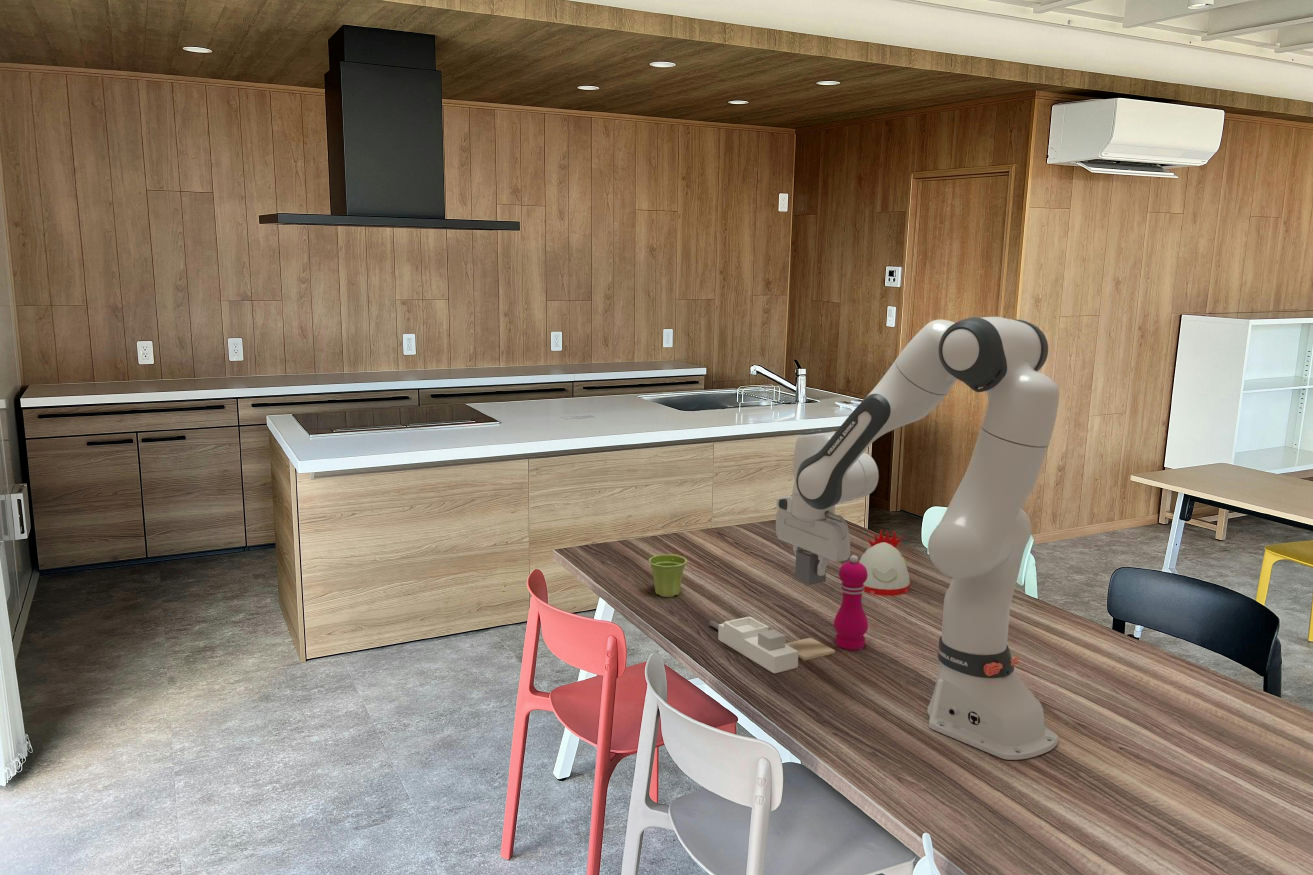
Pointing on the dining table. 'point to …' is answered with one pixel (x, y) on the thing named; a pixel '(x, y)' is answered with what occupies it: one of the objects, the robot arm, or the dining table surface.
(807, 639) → the coaster
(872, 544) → the kitchen timer
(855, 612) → the pepper mill
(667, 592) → the plant pot
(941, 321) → the robot arm
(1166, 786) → the dining table surface
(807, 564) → the block
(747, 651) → the power strip
